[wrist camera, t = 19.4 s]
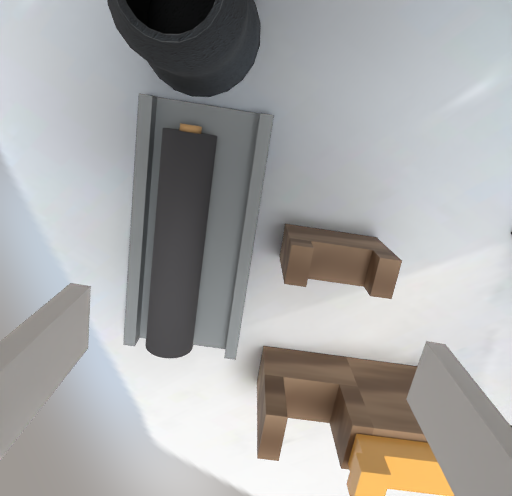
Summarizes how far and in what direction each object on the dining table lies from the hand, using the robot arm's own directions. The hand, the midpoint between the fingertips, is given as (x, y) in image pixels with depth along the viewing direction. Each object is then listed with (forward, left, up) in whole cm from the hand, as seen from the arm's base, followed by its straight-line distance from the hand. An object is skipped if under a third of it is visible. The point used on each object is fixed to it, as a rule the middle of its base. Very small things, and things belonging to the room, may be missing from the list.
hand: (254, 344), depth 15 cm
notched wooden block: (+13, +11, -19) cm, 26 cm away
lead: (+2, -5, -19) cm, 19 cm away
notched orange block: (+13, +14, -10) cm, 22 cm away
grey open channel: (+1, -5, -19) cm, 20 cm away
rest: (+1, +7, -19) cm, 20 cm away
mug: (-15, -5, -20) cm, 25 cm away
